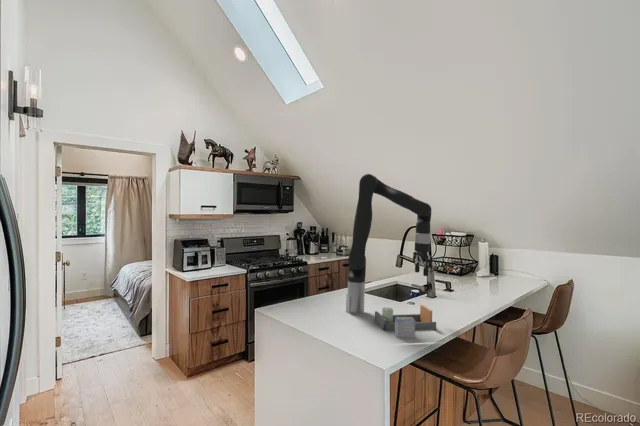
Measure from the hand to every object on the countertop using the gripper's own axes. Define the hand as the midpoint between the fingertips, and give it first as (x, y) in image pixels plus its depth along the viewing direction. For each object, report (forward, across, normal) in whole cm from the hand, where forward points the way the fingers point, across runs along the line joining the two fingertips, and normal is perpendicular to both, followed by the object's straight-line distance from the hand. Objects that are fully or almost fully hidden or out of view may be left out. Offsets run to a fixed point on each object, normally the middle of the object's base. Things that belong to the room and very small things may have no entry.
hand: (421, 274), depth 165 cm
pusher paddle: (+23, +6, 0) cm, 24 cm away
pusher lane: (+24, +5, -11) cm, 27 cm away
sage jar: (+24, +5, -20) cm, 31 cm away
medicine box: (+25, +18, -17) cm, 35 cm away
